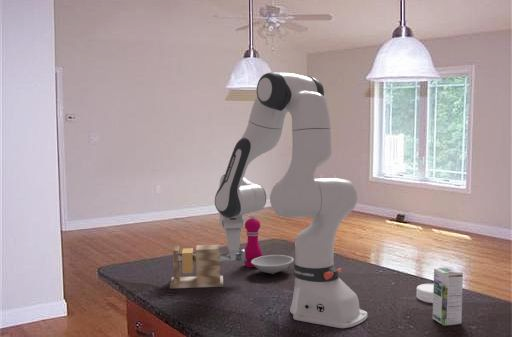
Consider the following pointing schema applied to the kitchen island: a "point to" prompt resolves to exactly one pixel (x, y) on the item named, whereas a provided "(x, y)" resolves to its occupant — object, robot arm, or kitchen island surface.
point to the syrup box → (447, 296)
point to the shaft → (223, 256)
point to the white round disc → (425, 292)
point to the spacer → (187, 260)
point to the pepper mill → (252, 241)
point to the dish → (272, 263)
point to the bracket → (199, 268)
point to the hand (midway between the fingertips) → (232, 258)
